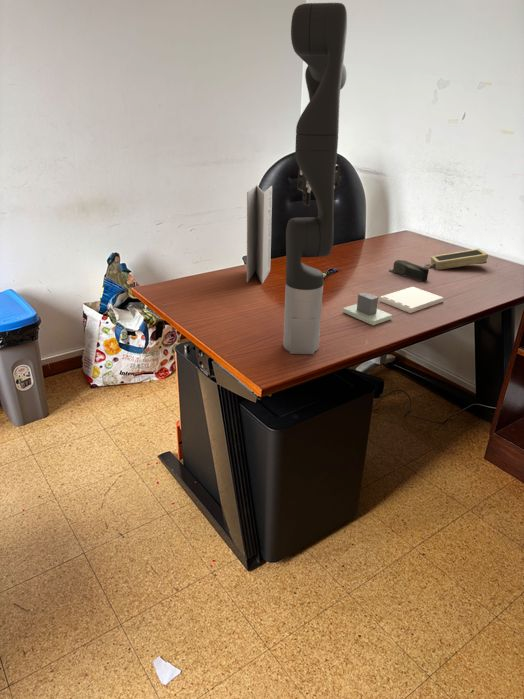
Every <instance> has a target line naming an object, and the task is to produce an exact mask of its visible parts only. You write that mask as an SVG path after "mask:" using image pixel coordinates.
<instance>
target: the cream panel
mask: <svg viewBox="0 0 524 699" xmlns="http://www.w3.org/2000/svg"><path fill="white" fill-rule="evenodd" d="M379 302H381V303H383V304H386V305H389V306H392V307H394V308H396V309H399V310H401V311H404V312H406V313H409V314H411V313H415V312H417V311H420V310H423V309H425V308H429V307H432V306H434V305H438V304H440V303H443V302H444V297H443V296H441V295H437V294H435V293H432V292H429V291H426V290H423V289H422V288H418V287H415V286H410V287H407V288H403V289H401V290H397V291H394V292H391V293H387V294H384V295H381V296H379Z"/></svg>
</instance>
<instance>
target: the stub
mask: <svg viewBox="0 0 524 699" xmlns="http://www.w3.org/2000/svg"><path fill="white" fill-rule="evenodd" d="M378 302H379V296H376V295H374V294H372V293H371V294H370V293H368V292H361V293H358V294H357V303H355V304H352V305H349V306H348V305H347V306H345V307H343V308H342V313H344V314H346V315H349V316H350V317H353V318H355V319H358V320H360V321H361V322H364V323H367V324H369V325H370V326H376V325H379V324H381V323H384V322H387V321H390V320H392V318H393V315H392V314H391V313H388V312H387V311H383V310H382V309H379V308H378Z"/></svg>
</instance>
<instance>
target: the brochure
mask: <svg viewBox="0 0 524 699" xmlns="http://www.w3.org/2000/svg"><path fill="white" fill-rule="evenodd" d="M272 208H273V185H271V186H269V188H267V189H266V190H265V191H263V190H262V188H260V187H259V185H258V184H256V185H255V186H254V187H252V188H251V189H249V190H248V191H247V192H246V283H249V281H250V279H251V278H252V277H253V275H254V274H255V272H256V274H257V276H258V279H259V281H260V283H261V284H264V282H265V280H266V279H267V277H268V276H269V274H270V272H271V256H272V255H271V253H272V251H271V250H272V249H271V248H272V216H273V215H272V214H273V213H272V212H273V211H272V210H273V209H272Z"/></svg>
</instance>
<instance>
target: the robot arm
mask: <svg viewBox="0 0 524 699" xmlns="http://www.w3.org/2000/svg"><path fill="white" fill-rule="evenodd" d="M290 22H291V24H290V38H291V39H290V40H291V45H292V48H293V51H294V52H295V54H296V55H297V56H298V57H299V58H300V59H301V60H302V61H303V62H304V63H305V64H306V65H307V66H306V69H305V73H304V76H305V78H304V79H305V83H306V88H307V93H308V99H309V102H308V103H307V105H306V107H305V108H304V109H303V111H302V113H301V114H300V117H299V119H298V120H297V122H296V128H295V153H294V156H295V160H296V163H297V166H298V167H299V168H298V171H297V172H298V173H297V182H296V183H297V185H296V189H297V191H300V192H301V191H302V201H301V202H302V204H303V206H304V207H310V206H311V199H312V198H311V196H312V193H313V196H314V199H315V201H316V206H317V216H316V217H314V216H311V217H310V216H309V217H292V218H290V219H289V220H288V222H287V223H286V224H287V225H286V229H285V252H286V253H285V254H286V255H285V256H286V259H285V260H286V262H285V263H286V264H285V287H284V288H285V290H284V291H285V294H284V315H283V316H284V318H283V320H284V321H283V340H282V342H283V344H282V345H283V346H282V347H283V348H284V350H286V351H287V352H289V354H291V355H293V354H294V355H315V352H317V350H319V347H320V346H319V345H320V337H321V336H320V334H321V333H320V332H321V319H322V308H323V307H322V306H323V295H324V294H323V292H324V291H323V290H324V281H325V280H324V279H325V277H324V274H323V272H322V271H321V270H319V269H318V268H315V267H313V266H310V265H307V264H305V263H304V262H302V261H301V259H302V258H325V257H328V256H330V254H331V252H332V250H333V245H334V238H335V237H334V235H335V234H334V231H335V230H334V227H335V226H334V224H335V223H334V222H335V220H334V219H335V218H334V217H335V216H334V214H335V213H334V212H335V209H334V208H335V204H334V203H335V202H334V201H335V200H334V199H335V189H336V188H337V187H339V186H340V185H341V183H340V182H341V165H339V164H337V157H338V147H339V145H338V143H339V127H340V125H339V124H340V100H341V98H340V97H341V90H342V89H343V88H344V87H345V84H346V82H347V75H348V74H347V69H346V66H345V64H344V59H345V51H346V40H347V32H348V13H347V7H346V5H345V4H343V3H342V2H313V3H311V2H309V3H307V2H306V3H301V4H299V5H297V6H296V7H295V8H294V10H293V13H292V16H291V21H290Z"/></svg>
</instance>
